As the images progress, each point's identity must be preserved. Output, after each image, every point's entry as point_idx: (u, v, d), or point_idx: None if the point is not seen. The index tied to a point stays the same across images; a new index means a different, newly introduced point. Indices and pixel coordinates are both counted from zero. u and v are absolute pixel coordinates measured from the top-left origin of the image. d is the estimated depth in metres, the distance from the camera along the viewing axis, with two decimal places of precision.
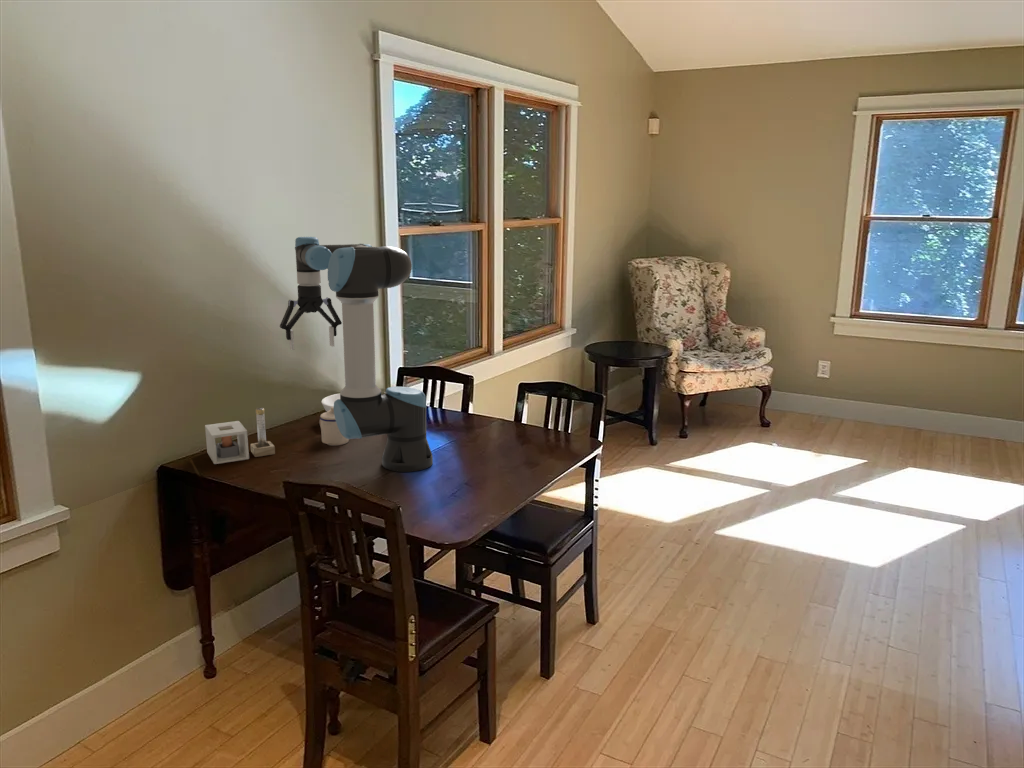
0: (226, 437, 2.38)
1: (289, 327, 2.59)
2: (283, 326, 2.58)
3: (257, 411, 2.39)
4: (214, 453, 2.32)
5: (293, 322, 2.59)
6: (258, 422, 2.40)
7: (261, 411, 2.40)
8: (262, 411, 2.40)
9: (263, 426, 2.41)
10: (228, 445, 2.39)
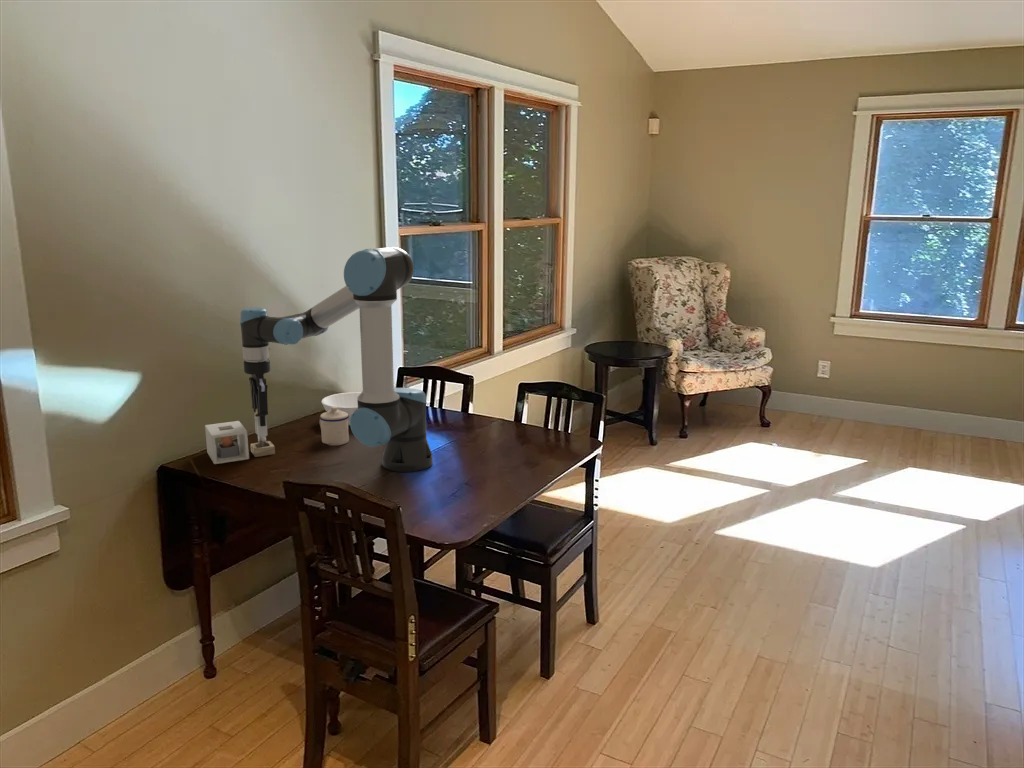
0: (226, 437, 2.38)
1: (254, 408, 2.42)
2: (252, 406, 2.43)
3: None
4: (214, 453, 2.32)
5: (253, 402, 2.41)
6: None
7: None
8: None
9: None
10: (228, 445, 2.39)
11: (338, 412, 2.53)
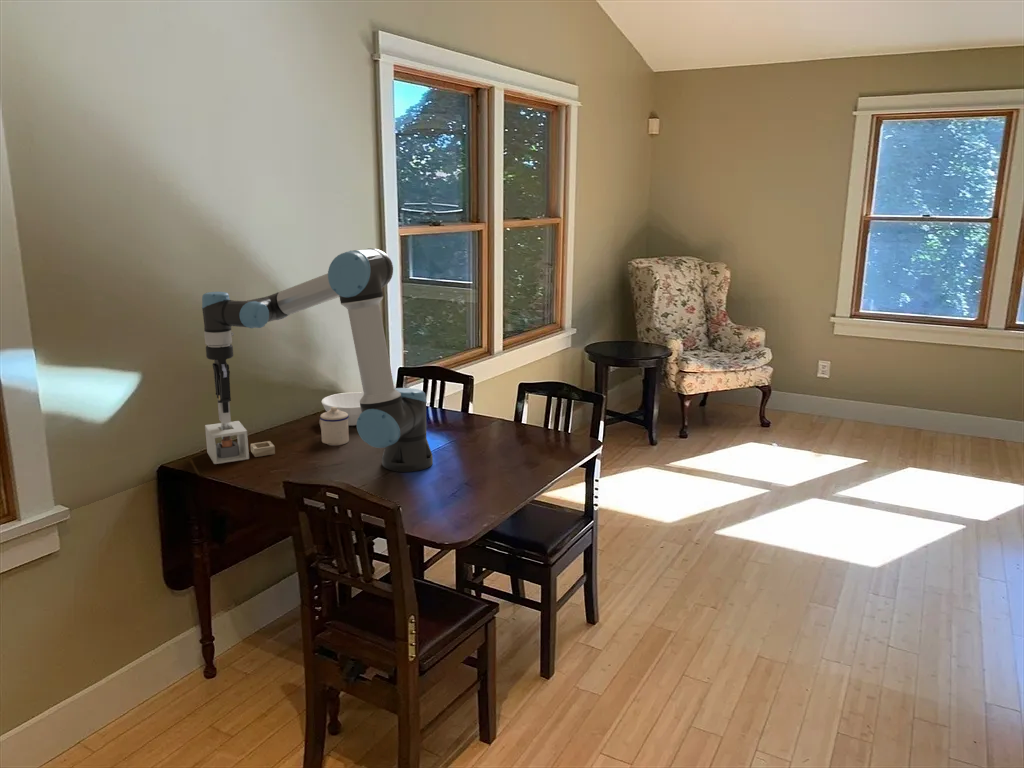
0: (227, 444, 2.38)
1: (217, 395, 2.38)
2: (216, 392, 2.39)
3: None
4: (214, 453, 2.32)
5: (217, 388, 2.37)
6: None
7: None
8: None
9: None
10: None
11: (338, 412, 2.53)
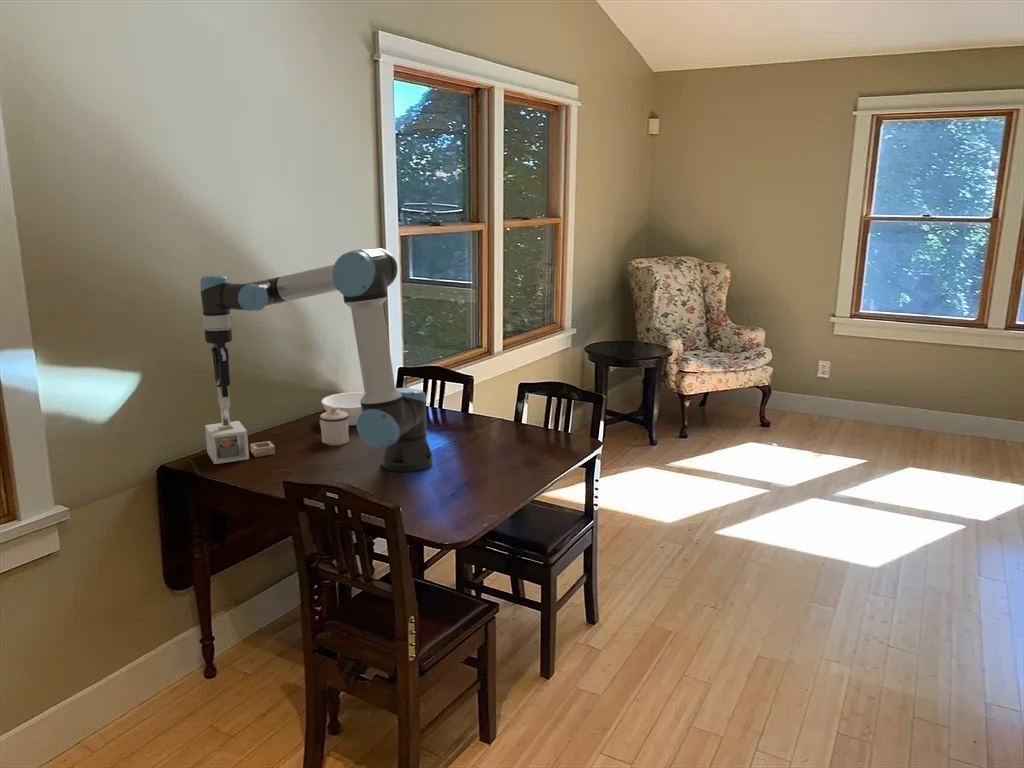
0: (227, 444, 2.38)
1: (216, 379, 2.36)
2: (215, 377, 2.38)
3: None
4: (214, 453, 2.32)
5: (216, 373, 2.36)
6: None
7: None
8: None
9: None
10: None
11: (338, 412, 2.53)
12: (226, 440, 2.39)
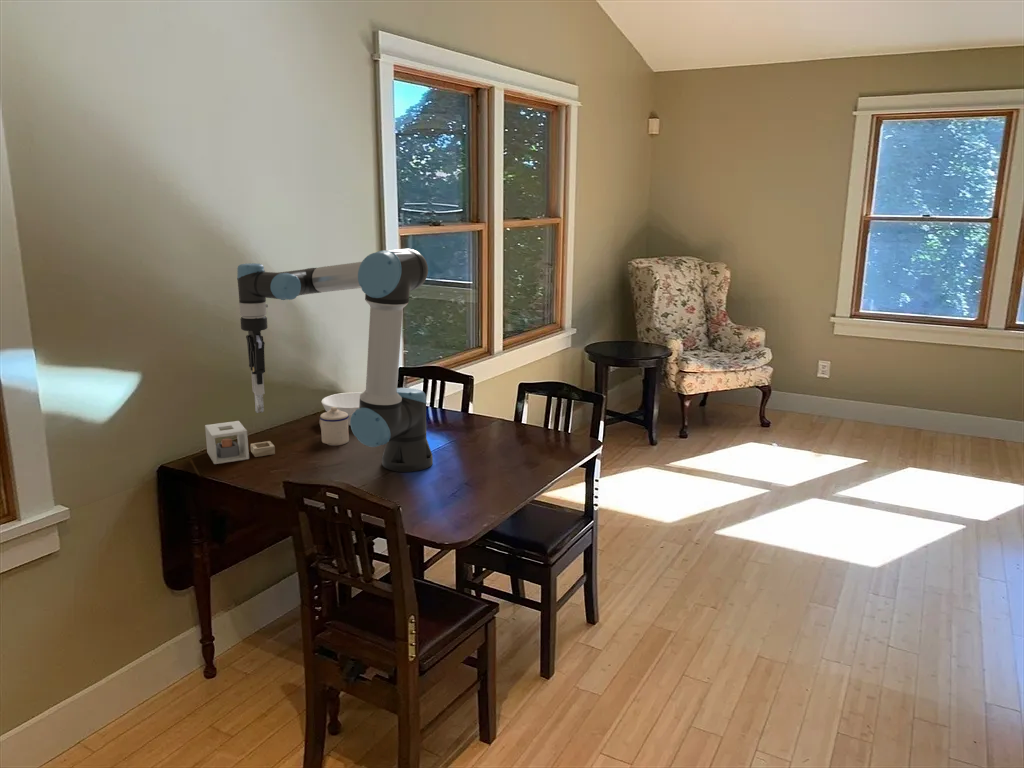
0: (227, 444, 2.38)
1: None
2: (249, 364, 2.40)
3: None
4: (214, 453, 2.32)
5: (250, 360, 2.38)
6: None
7: None
8: None
9: None
10: None
11: (338, 412, 2.53)
12: (226, 440, 2.39)
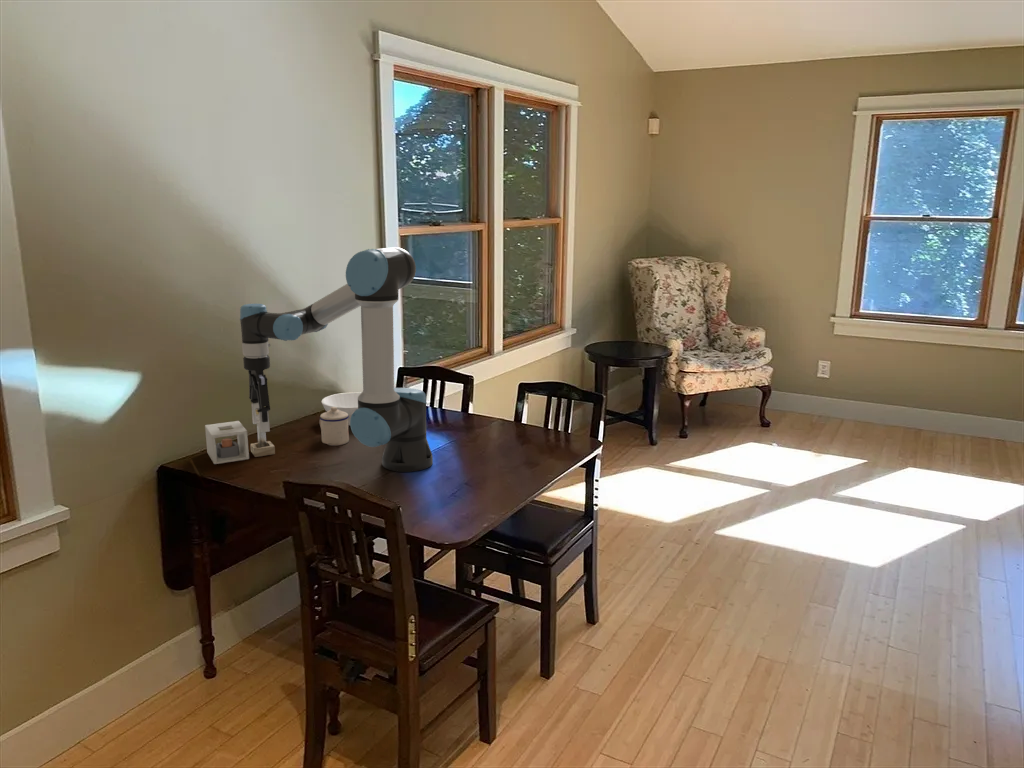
0: (227, 444, 2.38)
1: (251, 399, 2.44)
2: (249, 396, 2.46)
3: None
4: (214, 453, 2.32)
5: (251, 394, 2.43)
6: (258, 422, 2.40)
7: None
8: None
9: None
10: None
11: (338, 412, 2.53)
12: (226, 440, 2.39)
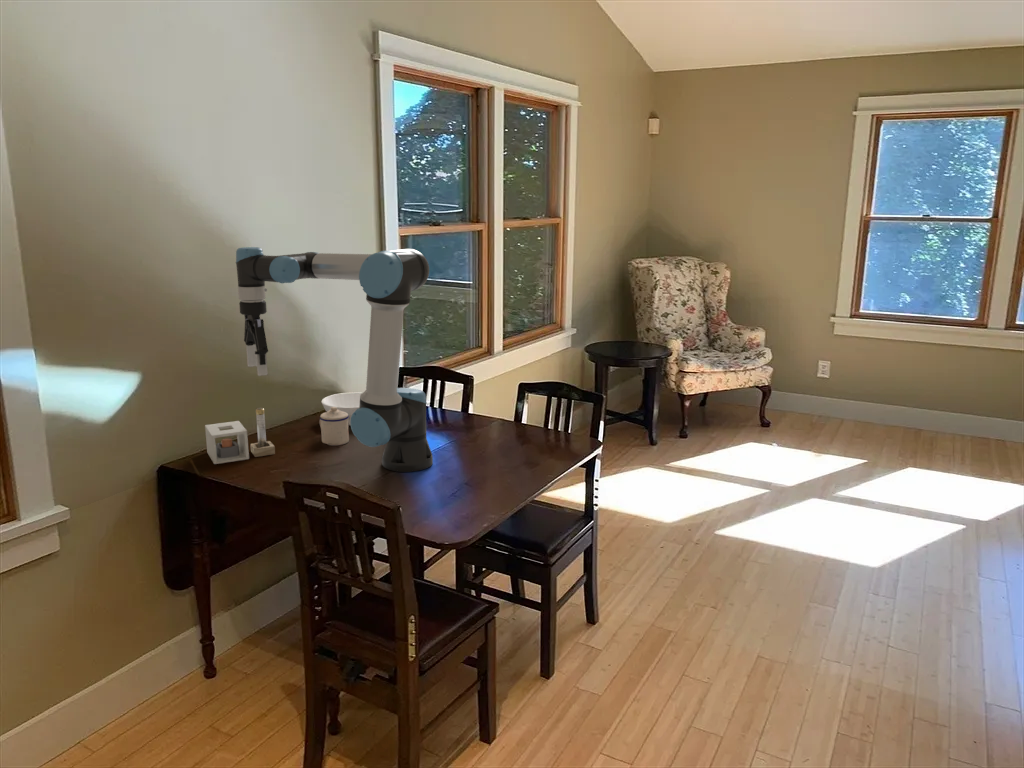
0: (227, 444, 2.38)
1: (246, 341, 2.41)
2: (244, 339, 2.43)
3: (257, 411, 2.39)
4: (214, 453, 2.32)
5: (246, 337, 2.40)
6: (258, 422, 2.40)
7: (261, 411, 2.39)
8: (262, 411, 2.40)
9: (263, 426, 2.41)
10: None
11: (338, 412, 2.53)
12: (226, 440, 2.39)
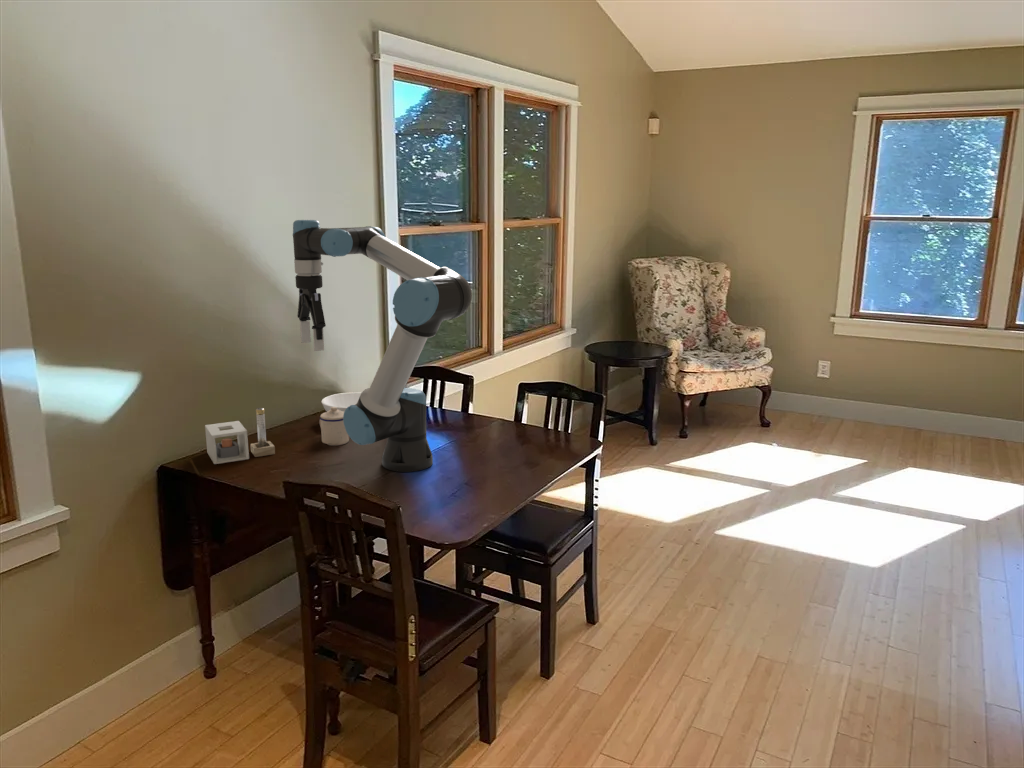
0: (227, 444, 2.38)
1: (299, 317, 2.37)
2: (297, 315, 2.39)
3: (257, 411, 2.39)
4: (214, 453, 2.32)
5: (300, 313, 2.35)
6: (258, 422, 2.40)
7: (261, 411, 2.39)
8: (262, 411, 2.40)
9: (263, 426, 2.41)
10: None
11: (338, 412, 2.53)
12: (226, 440, 2.39)
